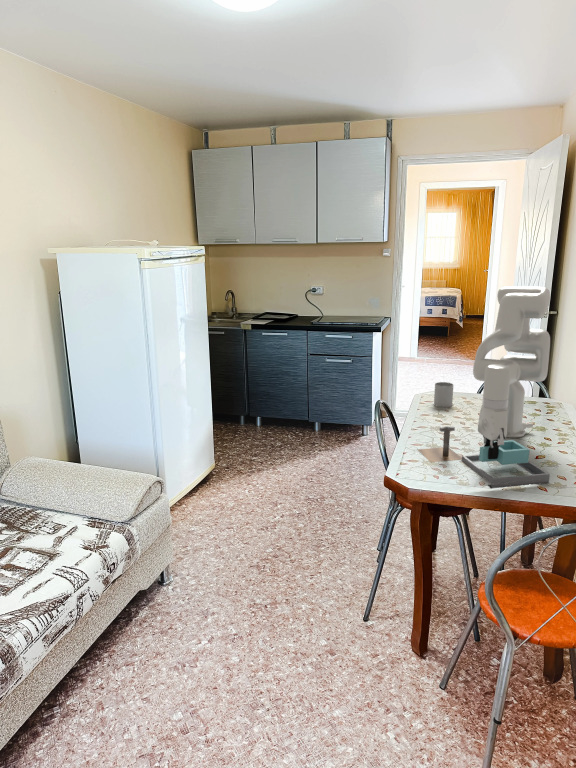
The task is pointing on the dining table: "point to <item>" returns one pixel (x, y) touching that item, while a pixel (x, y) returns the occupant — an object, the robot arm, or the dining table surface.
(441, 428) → the stake board
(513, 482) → the tray
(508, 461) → the teal hollow frame
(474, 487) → the dining table surface
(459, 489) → the dining table surface
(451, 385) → the cup
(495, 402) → the robot arm
